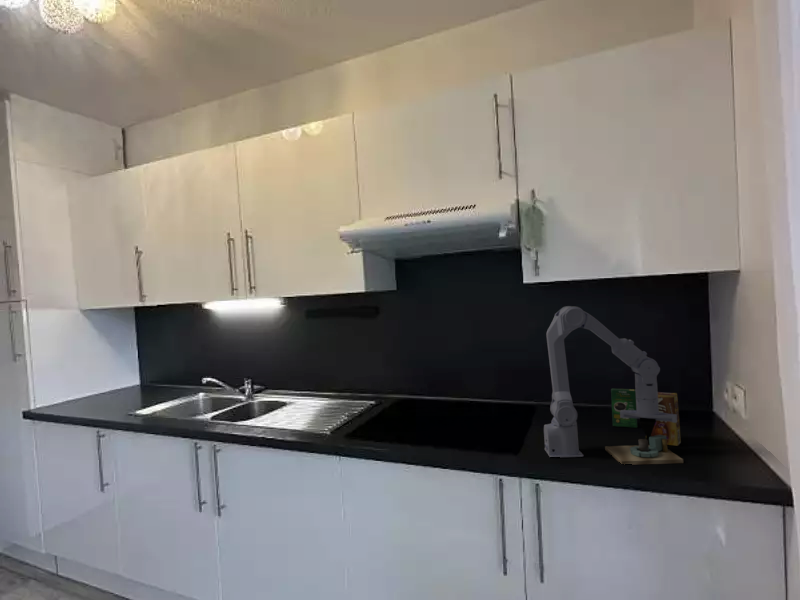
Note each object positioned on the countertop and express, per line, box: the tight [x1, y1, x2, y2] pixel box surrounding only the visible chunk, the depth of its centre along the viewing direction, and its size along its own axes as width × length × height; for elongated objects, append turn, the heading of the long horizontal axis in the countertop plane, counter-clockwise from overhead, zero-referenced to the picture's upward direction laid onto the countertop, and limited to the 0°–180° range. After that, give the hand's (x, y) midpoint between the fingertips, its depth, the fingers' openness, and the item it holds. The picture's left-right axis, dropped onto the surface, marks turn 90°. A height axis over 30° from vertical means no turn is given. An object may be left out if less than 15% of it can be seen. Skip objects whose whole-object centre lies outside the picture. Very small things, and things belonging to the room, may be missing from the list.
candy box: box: [651, 391, 682, 447], centre depth 143 cm, size 9×4×15 cm, turn 47°
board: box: [604, 438, 684, 466], centre depth 132 cm, size 16×13×5 cm
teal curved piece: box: [630, 435, 666, 457], centre depth 131 cm, size 11×7×4 cm, turn 113°
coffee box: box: [610, 388, 638, 429], centre depth 162 cm, size 8×3×13 cm, turn 63°
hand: (649, 444), depth 135 cm, fingers closed, pressing on teal curved piece
